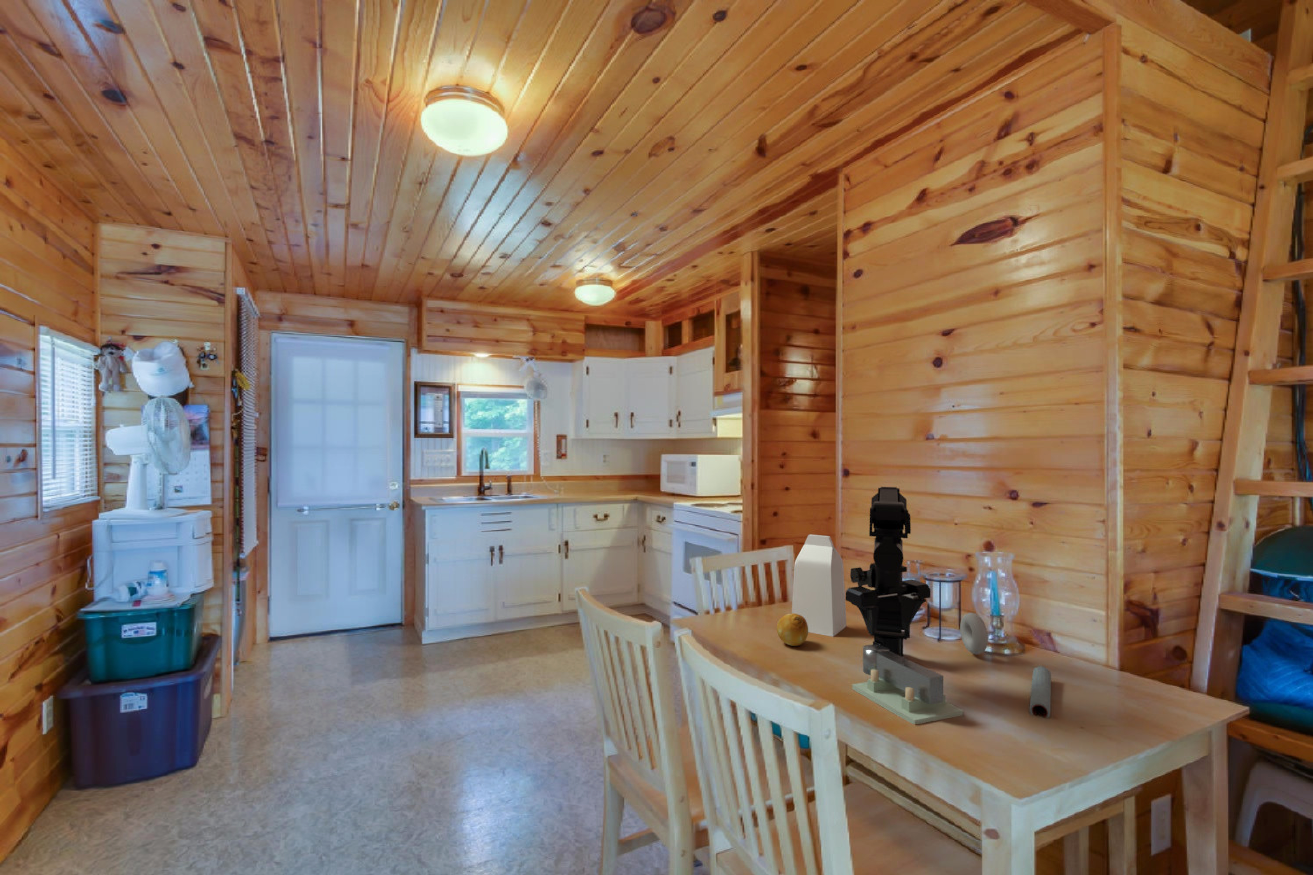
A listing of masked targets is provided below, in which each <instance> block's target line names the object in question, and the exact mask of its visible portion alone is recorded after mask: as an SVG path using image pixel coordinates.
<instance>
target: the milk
mask: <svg viewBox="0 0 1313 875" xmlns="http://www.w3.org/2000/svg"><path fill="white" fill-rule="evenodd" d="M844 571H845V570H844V561H843V558H842V556H841V555H840V553H839V551H838V550H837V549H836V547H835V545H834V543H833V540H832V537H831V536H829V535H820V534H808V535H807V537H806V539H805V542H804V544H803V546H802V547H801V550H800V552H799V553H798V555H797V557H796V558H795V561H794V566H793V583H792V585H793V586H792V601H791V602H792V603H791V613H794V614H798V615H801V616H802V617H804V618H805V620H806V622H807V625H808V633H810V634H817V635H823V636H827V637H833V638H834V637H835V636H836V635H838V634H839V633H840V632H841V631H843V630H844V629H845V628H846V627H847V625H848V624H847V612H846V610H847V609H846V590H845V588H846V587H845V572H844Z"/></svg>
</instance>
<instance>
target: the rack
mask: <svg viewBox="0 0 1313 875" xmlns="http://www.w3.org/2000/svg"><path fill="white" fill-rule="evenodd" d="M851 687H852V689H851V690H853V691H855V692H857V693H858V694H860V695H862V696H864V697H865V698H867V699H868V700H870V701H871V702H873V703H875V704H877V705H879V706H881V707H882V708H884V709H886V710H887V711H889V712H890V713H892V714H895V716H897V717H899V718H901V719H903V720H904V721H907V722H909V723H910V724H912V725H914V724H917V725H921V724H925V723H926V722H927V723H931V721H932V722H934V721H935V722H936V721H941V720H946V719H949V718H955V717H960V716H964V710H963V709H961V708H960V707H958V706H955V705H954V704H952V703H949V702H948V701H946V695H945V694H944V693H943V702H940V703H935V704H928V703H926V702H924V701H922V700H920V699H918V698H916V697H914V688H911V687H906V688H905V691H903V690H901V689H899V688H897V687H895V686H894V685H892V684H890V683H888V682H886V681H884V680H882V679H880V678H879V671H878V670H876V669H872V670H871V675H870V678H868V679H867V681H865V682H859V683H852V684H851ZM927 723H926V724H927Z"/></svg>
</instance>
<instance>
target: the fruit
mask: <svg viewBox="0 0 1313 875" xmlns="http://www.w3.org/2000/svg"><path fill="white" fill-rule="evenodd" d="M776 633H777V635H778V637H779V639H780V640H781V641H782V642H783V643H784V644H785V645H786V644H787V645H788V646H791V647H799V646H801V645H802V644H803V643H804V642H805V641H806V640H807V637H808V635H809V632H808V625H807V622H806V620H805V618H804V617H802V616H801V615H798V614H794V613H792V612H791V613H787V614H785V615H783V616H782V617H781V618H780V619H779V620H778V622H777V625H776Z"/></svg>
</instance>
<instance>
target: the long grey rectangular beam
mask: <svg viewBox="0 0 1313 875" xmlns="http://www.w3.org/2000/svg"><path fill="white" fill-rule="evenodd" d="M872 669H876V670H878V671H879V678H880V679H882V680H884V681H886V682H888V683H890V684H892V685H894V686H895V687H897V688H899V689H901V690H903V691H905V688H906V687H911V688H914V697H916V698H918V699H920V700H922V701H924V702H926V703H928V704H935V703H940V702H943V694H944V675H942V674H940V673H938V672H936V671H934V670H931V669H930V668H928V667H925V666H923V665H921V664H918V663H916V662H914V661H912V660H910V659H908V658H905V657H904V656H903V657H901V656H899V655H897V654H895V653H892V652H890V651H889V649H888V648H886V647H884V646H880V645H873V644H866V645H863V647H862V672H864V674H866V675H868V676H871V670H872Z"/></svg>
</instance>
